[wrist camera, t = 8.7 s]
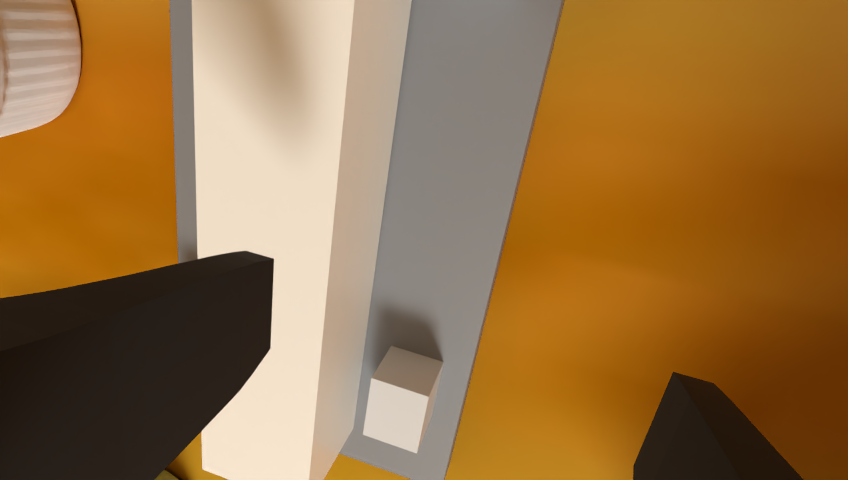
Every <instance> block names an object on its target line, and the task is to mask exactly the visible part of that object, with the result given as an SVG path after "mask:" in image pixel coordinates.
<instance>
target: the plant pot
mask: <svg viewBox="0 0 848 480" xmlns="http://www.w3.org/2000/svg"><path fill="white" fill-rule="evenodd" d="M155 480H178V479H177V478H176V477H175V476H173V475H172V474H170V473H169V472H167V471H165V470H163V471H162V472H161V473H160V474H159V475H158V476H157V477H156V479H155Z"/></svg>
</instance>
